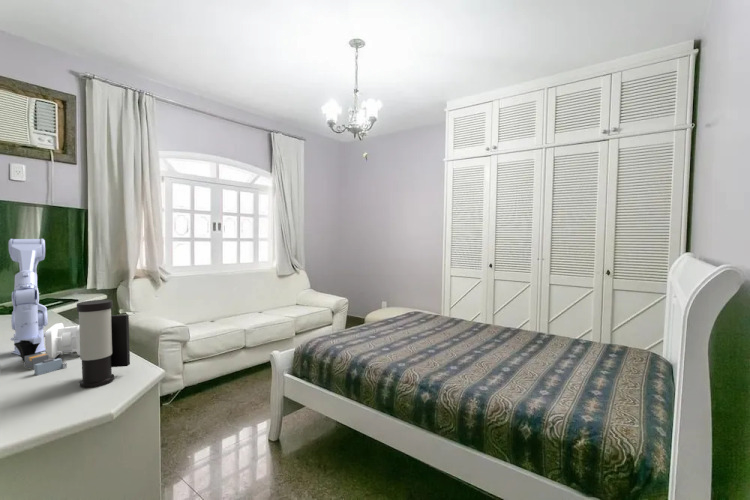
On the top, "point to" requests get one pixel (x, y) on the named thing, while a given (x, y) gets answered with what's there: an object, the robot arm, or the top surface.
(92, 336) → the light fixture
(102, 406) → the top surface
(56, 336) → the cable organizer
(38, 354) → the module
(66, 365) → the rail
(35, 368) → the end clamp
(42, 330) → the robot arm
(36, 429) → the top surface
